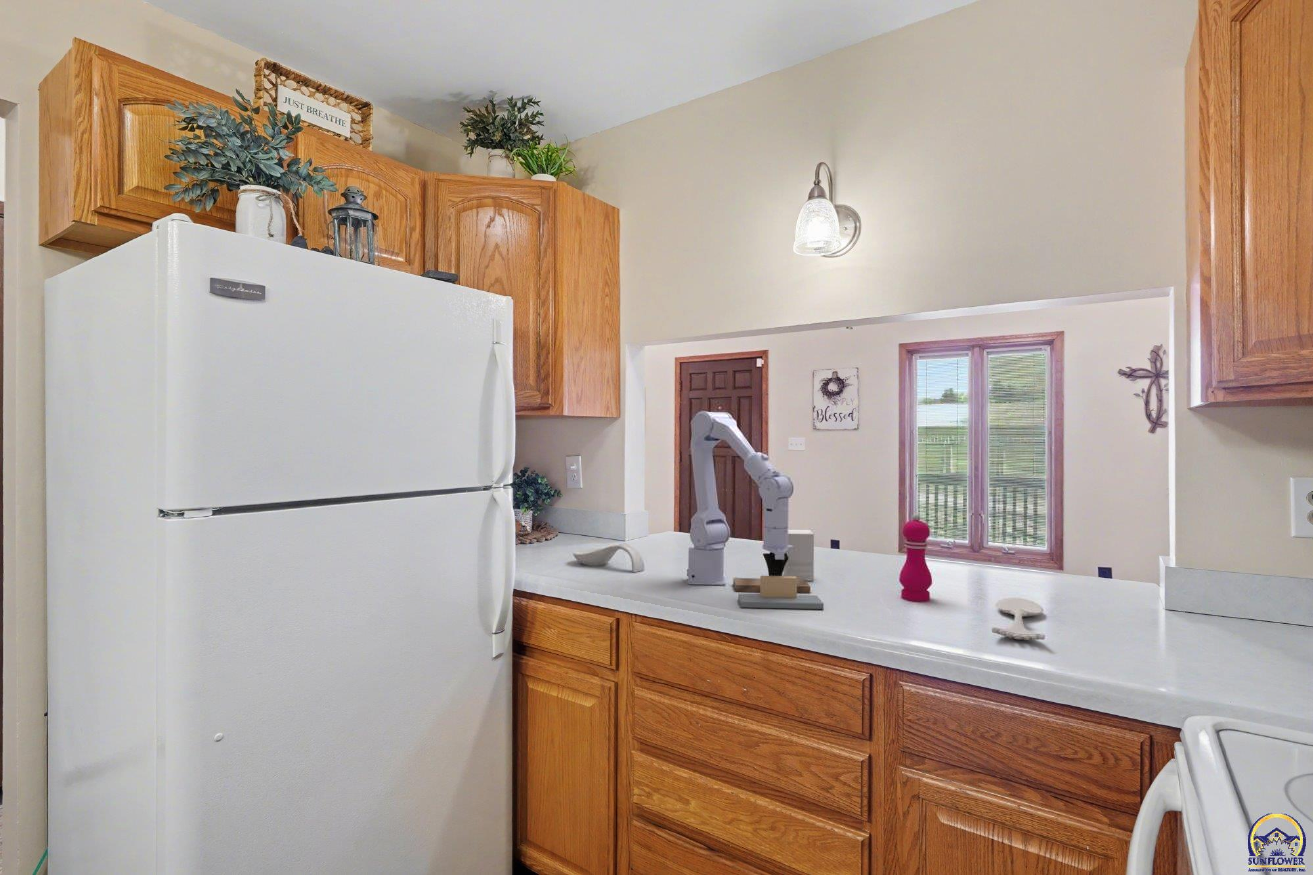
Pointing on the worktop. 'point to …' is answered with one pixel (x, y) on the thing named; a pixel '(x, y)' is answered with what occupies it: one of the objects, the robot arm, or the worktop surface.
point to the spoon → (1018, 618)
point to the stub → (779, 595)
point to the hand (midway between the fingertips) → (775, 584)
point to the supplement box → (800, 555)
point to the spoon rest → (609, 556)
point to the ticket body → (754, 585)
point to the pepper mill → (915, 562)
